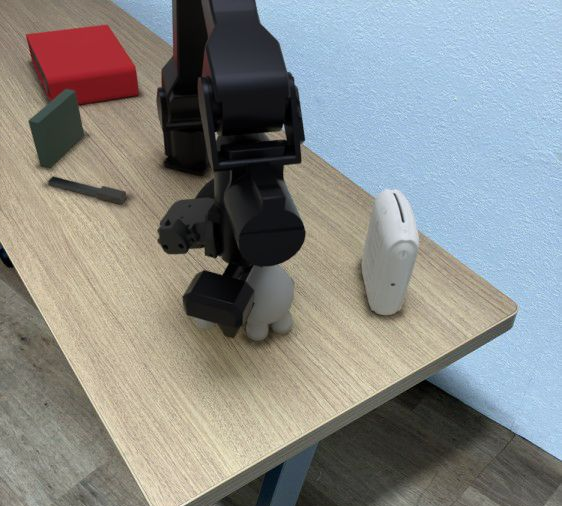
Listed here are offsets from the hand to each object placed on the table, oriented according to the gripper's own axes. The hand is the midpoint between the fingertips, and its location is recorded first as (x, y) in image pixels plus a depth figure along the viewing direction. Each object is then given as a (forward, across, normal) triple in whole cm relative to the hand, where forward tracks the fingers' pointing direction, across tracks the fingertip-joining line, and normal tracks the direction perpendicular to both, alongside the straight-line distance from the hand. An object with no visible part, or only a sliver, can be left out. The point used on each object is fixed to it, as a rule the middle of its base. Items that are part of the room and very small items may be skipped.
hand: (242, 310), depth 71 cm
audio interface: (+3, -45, -46) cm, 64 cm away
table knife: (+2, -16, -30) cm, 34 cm away
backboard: (+2, -24, -38) cm, 45 cm away
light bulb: (+2, -15, -11) cm, 19 cm away
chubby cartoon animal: (+2, +1, 0) cm, 2 cm away
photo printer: (+2, -12, +14) cm, 19 cm away
